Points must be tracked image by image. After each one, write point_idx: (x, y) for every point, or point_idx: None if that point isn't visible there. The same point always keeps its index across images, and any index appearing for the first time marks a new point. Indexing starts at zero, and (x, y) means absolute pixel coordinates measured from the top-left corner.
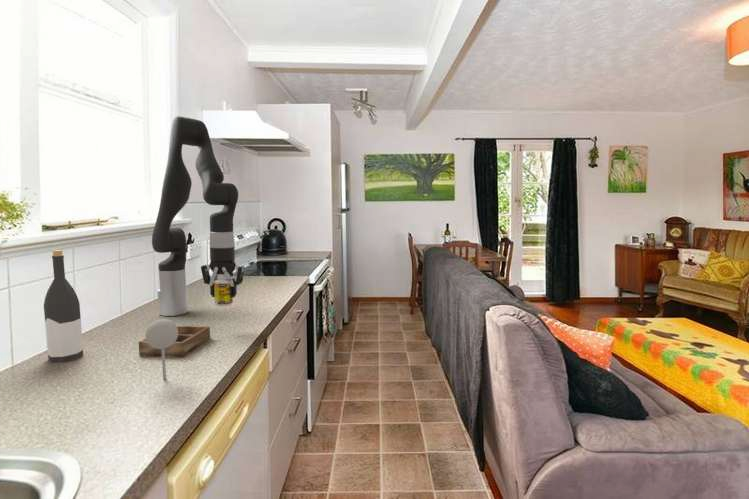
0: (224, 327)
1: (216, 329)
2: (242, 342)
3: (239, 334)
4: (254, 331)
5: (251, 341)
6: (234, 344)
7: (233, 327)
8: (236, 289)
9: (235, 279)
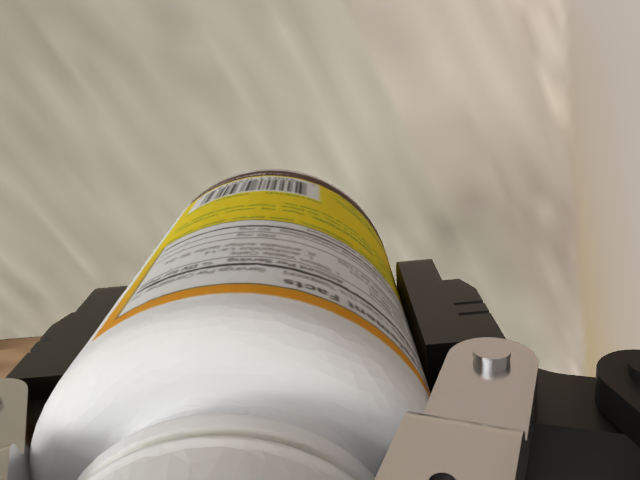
0: (196, 21)
1: (164, 92)
2: (526, 345)
3: (426, 186)
4: (518, 88)
5: (582, 318)
6: None
7: (277, 5)
8: (495, 326)
9: (530, 417)
